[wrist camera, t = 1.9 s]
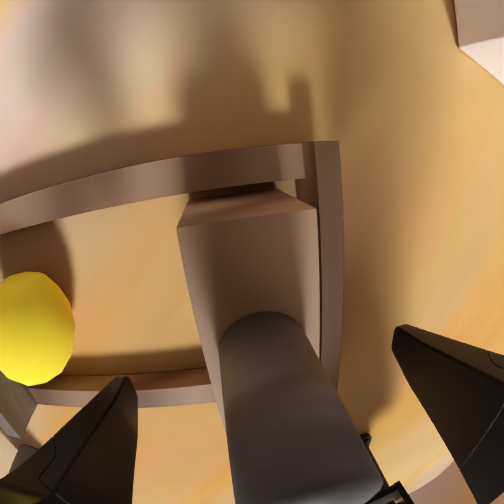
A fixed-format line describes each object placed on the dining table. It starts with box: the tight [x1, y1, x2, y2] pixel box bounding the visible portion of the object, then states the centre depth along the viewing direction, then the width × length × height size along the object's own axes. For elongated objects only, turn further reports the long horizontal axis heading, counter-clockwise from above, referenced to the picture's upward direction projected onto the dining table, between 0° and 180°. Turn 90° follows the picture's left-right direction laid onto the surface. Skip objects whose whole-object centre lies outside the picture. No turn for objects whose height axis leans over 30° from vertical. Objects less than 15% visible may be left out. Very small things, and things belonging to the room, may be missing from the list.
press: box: [0, 141, 344, 439], centre depth 12 cm, size 21×13×5 cm, turn 96°
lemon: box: [0, 272, 75, 386], centre depth 11 cm, size 7×5×5 cm
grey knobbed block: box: [176, 189, 383, 504], centre depth 9 cm, size 4×9×11 cm, turn 6°
